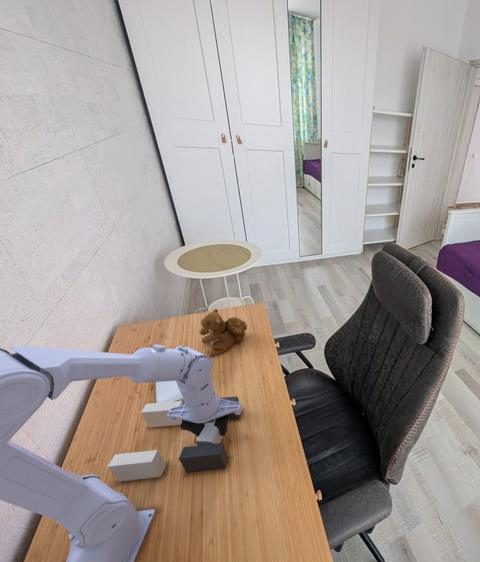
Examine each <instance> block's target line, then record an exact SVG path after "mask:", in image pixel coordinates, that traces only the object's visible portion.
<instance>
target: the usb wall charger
mask: <svg viewBox="0 0 480 562" xmlns="http://www.w3.org/2000/svg"><path fill="white" fill-rule="evenodd" d="M215 420H216V419H215ZM215 420H214V422H205V426H204V428H203V430H202V431H201V433H200V435H199V437H197V438H196V440H195V446H199V445H209V444H218V443H222V440H223V438H224V436H221V434H220V431H219V429H218V428H217V427H215V426H214V423H215Z"/></svg>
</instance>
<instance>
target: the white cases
mask: <svg viewBox="0 0 480 562" xmlns="http://www.w3.org/2000/svg"><path fill="white" fill-rule="evenodd" d="M182 405H184V402H182V401H175V402H163V403H156V402H153V403H146V404H145V405H144V407H143V408H142V410H141V412H140V414H141V416H142V417H143V419H144V421H145V423H146V425H147V426H148V428H150V429H152V428H161V427H162V428H163V427H171V426H180V425H181V423H182V419H178V418H176V419H175V420H174V421H169V419H168V417H167V414H168V412H169V411H170V409H171V408H173V407H178V406H182ZM166 466H167V464H166V462H165V460H164V458H163V457H162V455H161V453H160V451H159V450H158V449H152V450H144V451H134V452H125V453H115V454H114V455H113V457H112V458H111V460H110V462H109V463H108V465H107V468H108V469H109V470H110V472H111V473H112V475H114V477H115V478H116V480H117V481H118V482H128V481H135V480H145V479H152V478H160V477H162V475H163V473H164V471H165V469H166Z"/></svg>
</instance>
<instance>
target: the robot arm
mask: <svg viewBox="0 0 480 562" xmlns="http://www.w3.org/2000/svg"><path fill="white" fill-rule="evenodd" d="M7 347H8V348H9V349H11V350H12V351H14V353H11V352H10V351H9V350H7V349H5V348H4V347H0V501H2V502H4V503H7V504H10V505H13V506H16V507H18V508H21V509H24V510H27V511H30V512H32V513H34V514H38V515H40V516H43V517H46V518H47V519H48V518H49V519H51V520H53V521H54V522H56V523H58V524H59V525H60V526H62V527H64V529H66V531H68V538H69V539H68V540H69V541H70V549H69V553H68V554H67V555H68V556H67V558H66V560H65V562H135V561H136V559H137V556H138V553H139V551H140V548H141V546H142V544H143V541H144V539H145V537H146V535H147V532H148V530H149V528H150V525H151V523H152V521H153V518H154V516H155V513H156V510H155V508H154V509H153V508H152V509H151V508H150V509H145V510H137V509H136V508H135V507H134V505H133V504H132V503H131V501H130V500H129V499H128V498H127V497H126V496H125V494H124V493H121V492H119V491H115V490H114V489H113V488H111V487H110V486H109V485H108V484H106V483H105V482H104V481H103V480H101V477H99V475H97V474H93V473H92V474H85V475H81V474H78V473H76V472H70V471H68V470H66V469H64V468H63V467H60V466H59V465H57V464H55V463H53V462H51V461H49V460H48V459H46V458H44V457H42V456H40V455H38V454H36V453H35V452H33V451H31V450H30V449H27V448H26V447H24V446H22V445H20V444H18V443H16V442H15V441H13V440H11V439H12V438H13V437H15V435H16V434H17V433H18V432H19V430H20V429H22V427H23V426H24V425H25V424H26V423H27V422H28V421H29V419H31V417H32V416H33V415H35V413H36V412H37V410H39V409H40V408H41V406H42V405H43V404H44V402H46V400H47V398H48V399H50V400H51V401H54V400H56V399H58V398H59V397H60V396H61V394H62V393H63V392H64V391H66V389H67V388H68V387H69V385H70V384H72V383H73V382H82V381H92V380H103V379H112V378H125V377H127V378H128V379H129V380H130V381H131V382H132V383H135V384H147V383H156V382H164V381H176V382H177V385H178V388H179V390H180V392H181V395H182V397H183V400H184V402H183V403H184V404H183V405H182V406H178V407H173V408H171V409H170V411H169V412H168V414H167V417H168V419H169V421H174V420H175V419H176V418H178V419H182V423H181V425H179V427H180V429H181V430H182V431H187V432H189V433H192V434H194V435H195V436H196V437H197V438H198V437H199V435H200V433H201V431H202V430H203V428H204V426H205V425H206V423H208V422H207V421H210V420H213V419H216V420H215V423H214V426H215V427H217V428H218V429H219V431H220V434H221V436H223V437H226V436H227V432H228V427H229V425H228V422H229V420H228V418H229V415H230V413H235V415H240V413H241V414H242V409H243V405H242V402H241V401H239V402H233V401H228V400H224V399H220V398H221V397H218V394H217V392H216V388H215V385H214V382H213V379H212V375H211V373H212V369H213V366H214V360H213V359H210V357H209V356H208V355H207V354H205V353H203V352H200V351H198V350H196V349H194V348H192V347H188V346H186V345H184V344H182V345H178V346H176V347H174V348H167V347H166V346H164V345H162V344H153V346H152V347H142V348H139V349H137V350H136V351H134V352H133V353H132V354H131V353H120V352H119V353H117V352H105V351H94V350H93V351H91V350H77V349H67V348H65V349H64V348H53V347H43V346H34V345H22V344H21V345H19V344H18V345H8V346H7ZM240 416H241V415H240Z"/></svg>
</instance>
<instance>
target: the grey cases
mask: <svg viewBox="0 0 480 562" xmlns="http://www.w3.org/2000/svg"><path fill="white" fill-rule="evenodd" d="M219 398H220V399H224V400H228V401H233V402H240V400H239V396H238V395H237V396H236V395H235V396H227V397H225V396H223V397H219ZM241 415H242V412H241V413H240V415H235V413H230V415H229V418H228V421H234V420H240V418H241ZM214 420H215V419H213V420H210V421H207V422H206V423H213V422H214ZM178 461H179V462H180V464H181V466H182V467H183V470H184V472H185V474H195V473H200V472H211V471H219V470H226V468H227V465H228V461H229V454H228V452H227V448H226V447H225V443H224V442H220V443H218V444H209V445H199V446H197V445H192V446H190V445H189V446H183V447H182V450H181V451H180V454H179V457H178Z"/></svg>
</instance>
